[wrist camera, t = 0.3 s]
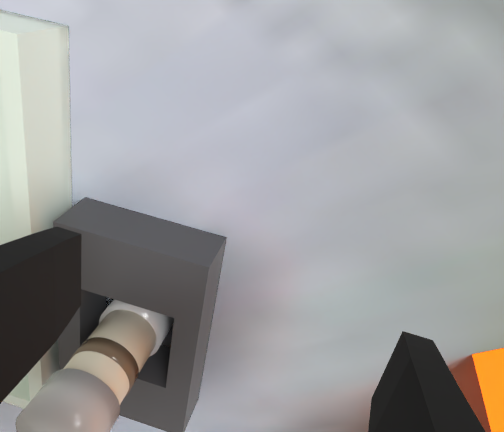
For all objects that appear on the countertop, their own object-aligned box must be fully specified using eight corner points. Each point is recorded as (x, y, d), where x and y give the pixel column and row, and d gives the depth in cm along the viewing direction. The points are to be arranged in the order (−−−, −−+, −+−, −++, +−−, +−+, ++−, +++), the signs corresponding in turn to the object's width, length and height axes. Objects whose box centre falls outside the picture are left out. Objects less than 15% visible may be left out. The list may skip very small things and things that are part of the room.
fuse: (173, 338, 25) (93, 479, 18) (117, 321, 25) (18, 452, 18) (178, 292, 23) (94, 427, 16) (119, 274, 23) (12, 398, 17)
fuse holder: (198, 399, 26) (182, 436, 24) (85, 361, 27) (60, 394, 25) (226, 237, 21) (209, 267, 19) (85, 197, 22) (53, 221, 20)
